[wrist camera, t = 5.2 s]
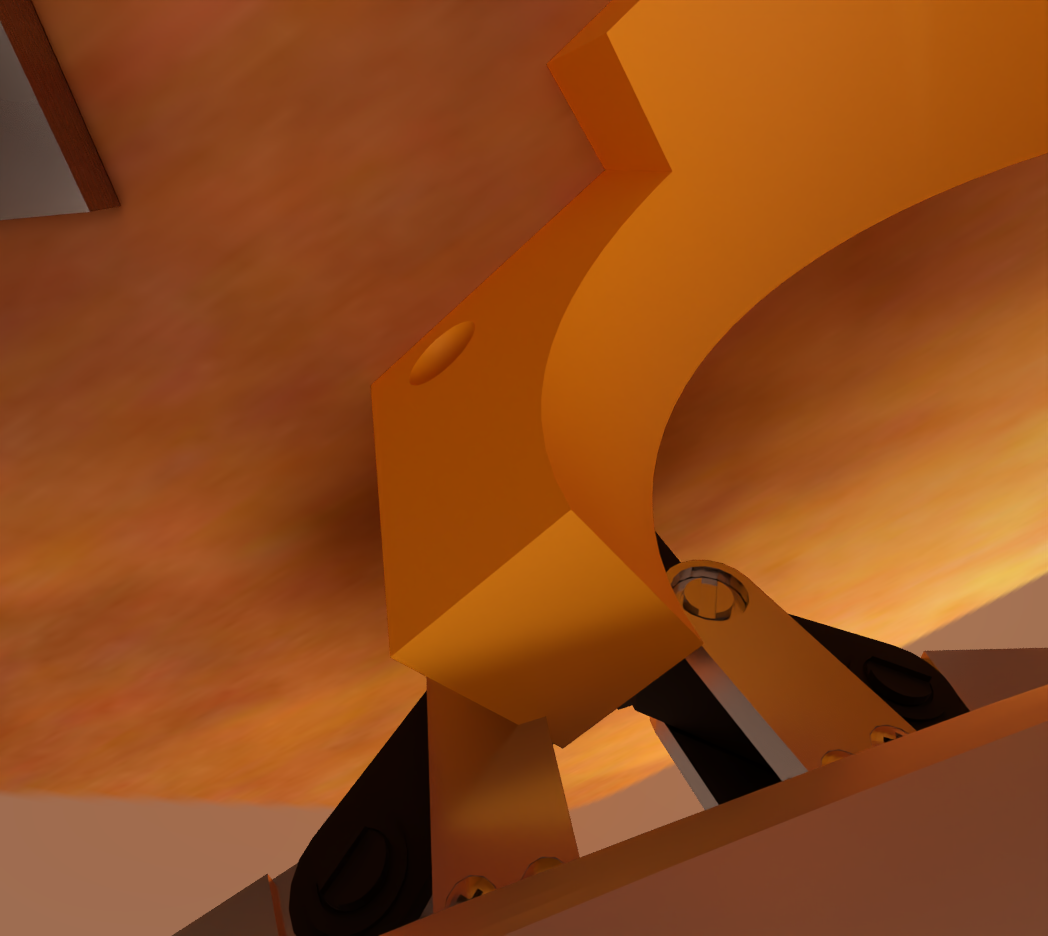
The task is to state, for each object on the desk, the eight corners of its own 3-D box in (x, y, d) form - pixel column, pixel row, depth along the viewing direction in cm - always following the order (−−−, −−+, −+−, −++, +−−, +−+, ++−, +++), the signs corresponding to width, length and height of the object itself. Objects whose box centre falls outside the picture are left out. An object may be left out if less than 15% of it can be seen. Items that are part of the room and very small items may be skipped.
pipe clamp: (900, -282, 7) (2613, -1682, 2) (944, 46, 9) (1716, -107, 4) (291, 310, 9) (187, 549, 3) (461, 464, 11) (563, 749, 6)
